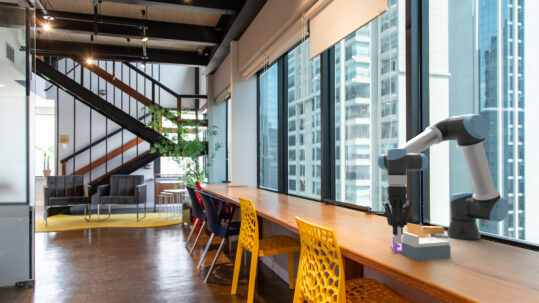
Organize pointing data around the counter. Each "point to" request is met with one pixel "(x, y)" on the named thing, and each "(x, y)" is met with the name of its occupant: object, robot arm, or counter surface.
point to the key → (434, 231)
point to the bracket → (396, 247)
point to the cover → (422, 241)
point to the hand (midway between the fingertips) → (397, 242)
